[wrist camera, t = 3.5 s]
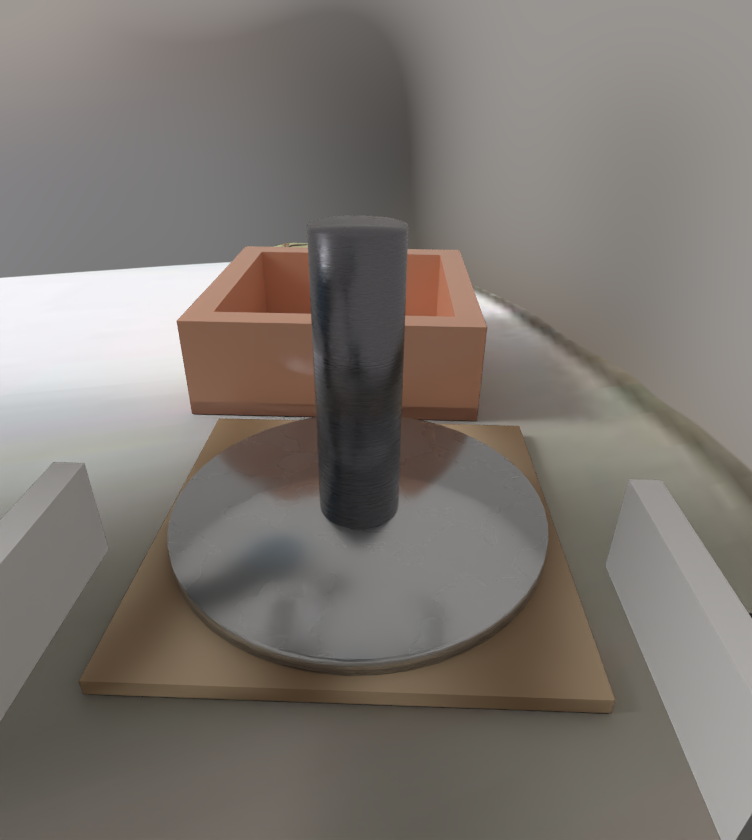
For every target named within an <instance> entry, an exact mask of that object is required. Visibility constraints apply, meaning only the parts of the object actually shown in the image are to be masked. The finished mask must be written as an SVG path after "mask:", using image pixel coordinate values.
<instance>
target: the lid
mask: <svg viewBox="0 0 752 840" xmlns="http://www.w3.org/2000/svg"><path fill="white" fill-rule="evenodd" d="M307 240H308V261H309V282H310V303H311V324H312V345H313V366H314V387H315V408H316V417H315V418H309V419H304V420H299V421H294V422H290V423H287V424H283V425H280V426H276V427H273V428H270V429H267V430H265V431H262V432H259V433H257V434H254V435H252V436H250V437H248V438H246V439H243V440H241V441H239V442H238V443H236V444H234V445H232V446H231V447H229V448H227V449H225V450H224V451H222V452H221V453H220V454H218V455H217V456H215V457H214V458H213V459H211V460H210V461H209V462H208V463H207V464H205V465H204V466H203V467H202V468H201V469H200V470H199V471H198V472H197V473H196V474H195V475H194V476H193V477H192V478H191V480H190V481H189V482H188V483H187V484H186V486H185V487H184V489H183V490H182V492H181V493H180V495H179V497H178V498H177V501H176V503H175V505H174V508H173V510H172V512H171V516H170V521H169V525H168V551H169V555H170V560H171V565H172V569H173V574H174V578H175V581H176V583H177V586H178V588H179V590H180V592H181V595H182V597H183V598H184V600H185V601H186V603H187V604H188V606H189V607H190V608H191V610H192V611H193V613H194V614H195V615H196V616H197V617H198V618H199V619H200V620H201V621H202V622H203V623H204V624H205V625H206V626H207V627H208V628H209V629H210V630H211V631H213V632H214V633H216V634H217V635H218V636H220V637H221V638H223V639H224V640H225V641H227V642H228V643H230V644H231V645H233V646H235V647H237V648H239V649H241V650H243V651H245V652H247V653H249V654H251V655H253V656H255V657H257V658H260V659H263V660H266V661H269V662H272V663H274V664H277V665H280V666H283V667H288V668H292V669H297V670H302V671H306V672H311V673H318V674H329V675H339V676H371V675H384V674H391V673H398V672H406V671H411V670H415V669H419V668H423V667H426V666H430V665H434V664H438V663H441V662H443V661H446V660H448V659H451V658H453V657H456V656H458V655H461V654H463V653H466V652H468V651H469V650H471V649H473V648H475V647H477V646H478V645H480V644H482V643H484V642H485V641H487V640H489V639H490V638H492V637H493V636H494V635H496V634H497V633H498V632H499V631H501V630H502V629H503V628H505V627H506V626H507V625H508V624H509V623H510V622H511V621H512V620H513V619H514V618H515V617H516V616H517V615H518V614H519V613H520V612H521V611H522V610H523V609H524V607H525V606H526V604H527V603H528V601H529V599H530V598H531V596H532V595H533V593H534V592H535V590H536V587H537V585H538V582H539V580H540V577H541V575H542V571H543V566H544V561H545V556H546V551H547V546H548V522H547V518H546V514H545V509H544V507H543V504H542V502H541V500H540V498H539V495H538V493H537V492H536V490H535V489H534V487H533V486H532V484H531V483H530V481H529V480H528V479H527V478H526V477H525V475H524V474H523V473H522V472H521V471H520V470H519V469H518V468H517V467H516V466H515V465H514V464H513V463H511V462H510V461H509V460H508V459H507V458H506V457H504V456H503V455H501V454H500V453H499V452H497V451H496V450H494V449H493V448H491V447H490V446H488V445H486V444H484V443H482V442H480V441H479V440H477V439H475V438H473V437H470V436H468V435H466V434H464V433H461V432H459V431H456V430H453V429H450V428H447V427H445V426H442V425H438V424H434V423H430V422H427V421H422V420H417V419H412V418H407V417H402V394H403V366H404V337H405V308H406V280H407V251H408V225H407V224H406V223H405V222H403V221H400V220H396V219H392V218H386V217H378V216H336V217H327V218H322V219H317V220H314V221H312V222H310V223H308V224H307Z"/></svg>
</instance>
